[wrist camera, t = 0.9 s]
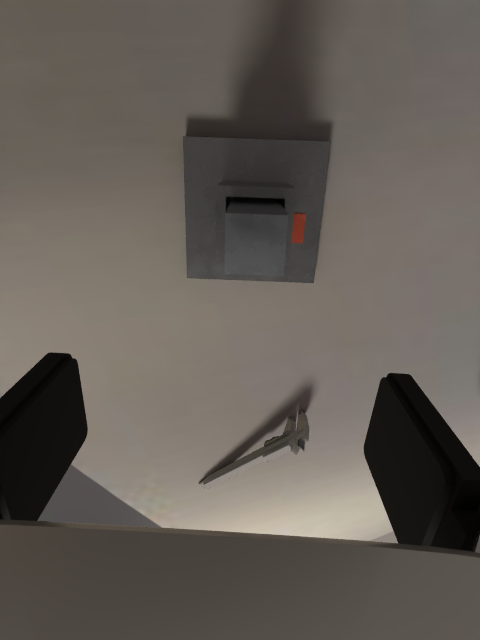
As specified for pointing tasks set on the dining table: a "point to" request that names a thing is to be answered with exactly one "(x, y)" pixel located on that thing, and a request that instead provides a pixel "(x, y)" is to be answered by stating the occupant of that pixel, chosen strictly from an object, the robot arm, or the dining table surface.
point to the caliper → (266, 451)
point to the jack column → (255, 236)
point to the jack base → (253, 181)
